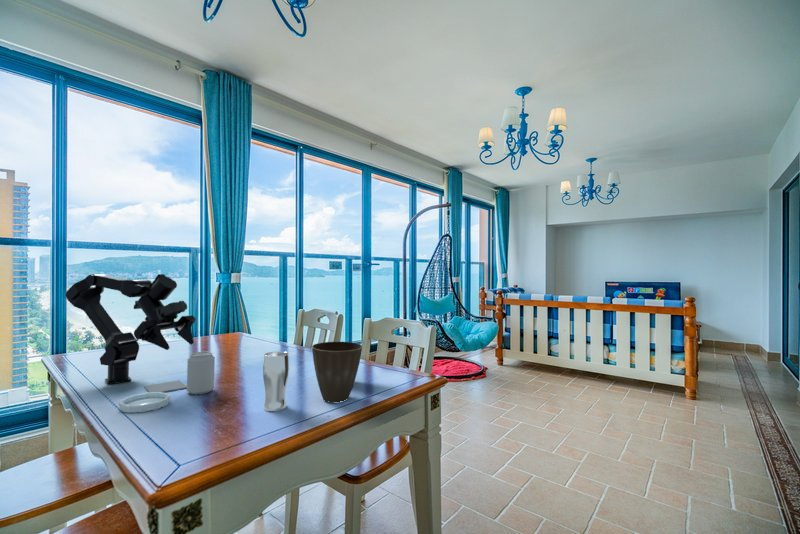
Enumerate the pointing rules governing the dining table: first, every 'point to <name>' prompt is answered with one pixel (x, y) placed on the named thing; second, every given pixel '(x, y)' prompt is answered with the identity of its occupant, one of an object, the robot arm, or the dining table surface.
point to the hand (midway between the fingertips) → (180, 346)
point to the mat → (165, 386)
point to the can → (200, 373)
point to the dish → (144, 402)
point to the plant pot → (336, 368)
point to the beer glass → (275, 380)
